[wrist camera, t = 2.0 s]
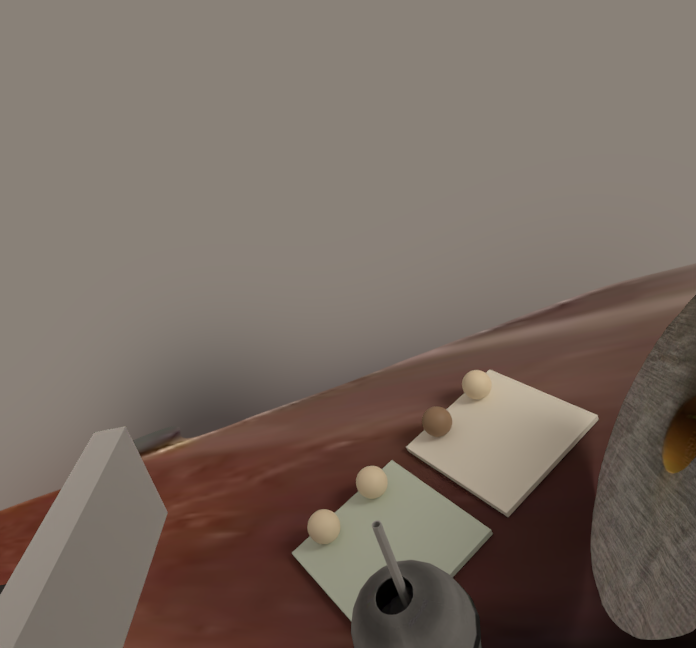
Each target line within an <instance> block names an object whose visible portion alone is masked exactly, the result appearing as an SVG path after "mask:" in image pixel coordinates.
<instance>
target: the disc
mask: <svg viewBox="0 0 696 648" xmlns="http://www.w3.org/2000/svg"><path fill="white" fill-rule="evenodd" d="M605 451H606V452H605V456H604V459H603V462H602V466H601V471H600V474H599V479H598V487H597V495H596V499H595V504H594V510H593V521H592V531H591V559H592V570H593V574H594V578H595V582H596V586H597V588H598V591H599V595H600V598H601V601H602V605H603V607H604V608H605V610H606V612H607V613H608V615H609V617H610V618H611V619H612V621H613V622H614V623H615V624H616V625H617V626H618V627H620V628H621V629H622V630H623V631H625V632H627V633H628V634H630V635H632V636H634V637H636V638H639V639H647V640H657V639H668V638H673V637H677V636H682V635H684V634H687V633H690V632H692V631H693V630H695V629H696V295H695V296H694V297H693V298H692V299H691V300H690V302H689V303H688V304H687V305H686V306H685V308H684V309H683V310H682V312H681V313H680V314H679V315H678V316H677V317H676V318H675V319H674V320H673V321H672V322H671V324H670V325H669V326H668V327H667V328H666V330H665V331H664V333H663V334H662V336H661V337H660V338H659V340H658V341H657V342H656V344H655V346H654V348H653V349H652V351H651V353H650V354H649V355H648V357H647V359H646V361H645V362H644V364H643V366H642V368H641V369H640V371H639V373H638V374H637V376H636V378H635V380H634V382H633V384H632V386H631V388H630V390H629V392H628V394H627V395H626V397H625V400H624V401H623V404H622V406H621V409H620V412H619V414H618V417H617V419H616V422H615V425H614V428H613V431H612V433H611V436H610V440H609V443H608V446H607V449H606V450H605Z"/></svg>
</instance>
